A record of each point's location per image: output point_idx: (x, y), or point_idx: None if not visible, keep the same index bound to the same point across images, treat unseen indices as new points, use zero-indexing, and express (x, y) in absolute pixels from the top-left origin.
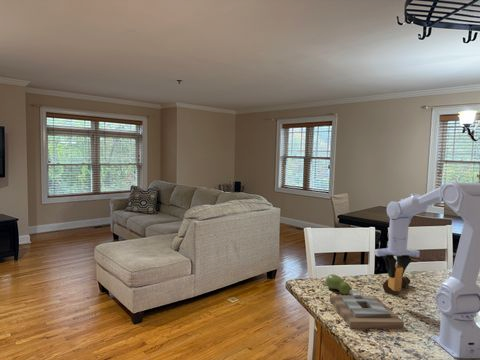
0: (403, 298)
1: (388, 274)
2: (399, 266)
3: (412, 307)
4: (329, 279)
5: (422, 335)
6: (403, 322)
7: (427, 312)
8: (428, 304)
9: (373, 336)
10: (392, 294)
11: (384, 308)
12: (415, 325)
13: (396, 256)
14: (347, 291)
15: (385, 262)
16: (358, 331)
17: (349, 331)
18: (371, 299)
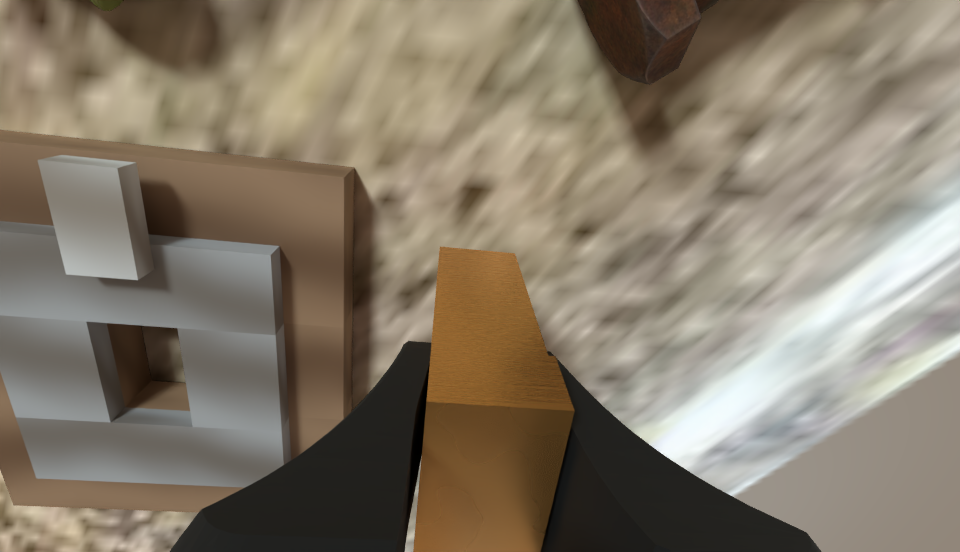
0: (645, 132)
1: (401, 352)
2: (512, 549)
3: (590, 283)
4: None
5: (410, 533)
6: None
7: (633, 350)
8: (750, 250)
9: (156, 531)
10: (602, 49)
11: (278, 433)
12: None
13: (642, 528)
14: (105, 6)
15: (313, 447)
16: None
17: None
18: (239, 304)
